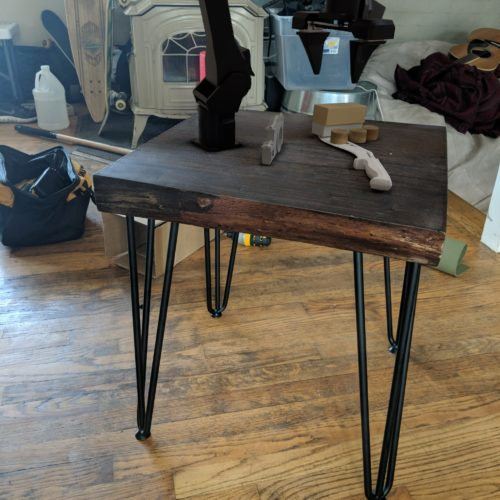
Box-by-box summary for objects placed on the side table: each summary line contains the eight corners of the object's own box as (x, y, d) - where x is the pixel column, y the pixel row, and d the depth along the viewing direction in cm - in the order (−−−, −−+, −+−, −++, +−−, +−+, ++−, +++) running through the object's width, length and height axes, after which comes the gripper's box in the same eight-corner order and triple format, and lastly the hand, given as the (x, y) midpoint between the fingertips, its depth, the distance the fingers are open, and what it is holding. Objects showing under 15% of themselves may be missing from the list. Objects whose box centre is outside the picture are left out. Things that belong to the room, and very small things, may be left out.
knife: (316, 127, 96) (358, 127, 96) (315, 135, 96) (357, 136, 96) (337, 179, 69) (395, 180, 69) (335, 190, 70) (393, 191, 70)
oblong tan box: (310, 132, 93) (314, 104, 90) (348, 128, 98) (352, 102, 96) (324, 137, 90) (328, 108, 88) (362, 133, 96) (367, 106, 94)
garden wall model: (271, 166, 78) (272, 127, 76) (259, 165, 79) (260, 126, 76) (284, 143, 89) (286, 109, 86) (274, 142, 89) (275, 108, 86)
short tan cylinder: (344, 139, 92) (346, 128, 91) (356, 137, 93) (357, 126, 92) (357, 144, 90) (358, 132, 89) (369, 141, 91) (370, 130, 90)
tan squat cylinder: (326, 141, 89) (327, 130, 88) (337, 138, 91) (339, 127, 90) (339, 145, 87) (340, 134, 86) (351, 142, 89) (352, 131, 88)
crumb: (356, 137, 93) (358, 126, 92) (368, 134, 95) (369, 124, 94) (369, 141, 91) (371, 130, 90) (380, 138, 93) (382, 127, 92)
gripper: (425, -20, 80) (407, 84, 87) (339, -24, 93) (330, 67, 100) (377, -22, 74) (362, 90, 81) (292, -25, 87) (286, 71, 94)
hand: (334, 78), depth 89 cm, fingers open, 9 cm apart
